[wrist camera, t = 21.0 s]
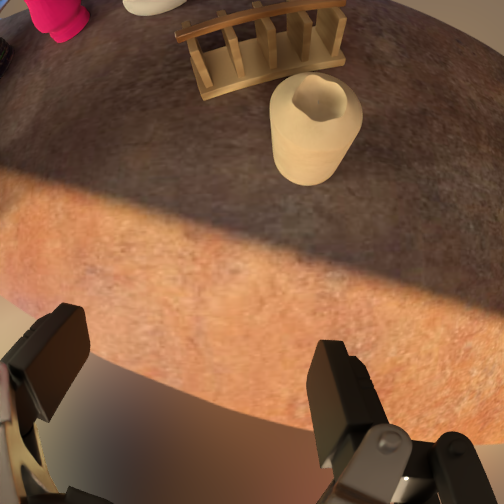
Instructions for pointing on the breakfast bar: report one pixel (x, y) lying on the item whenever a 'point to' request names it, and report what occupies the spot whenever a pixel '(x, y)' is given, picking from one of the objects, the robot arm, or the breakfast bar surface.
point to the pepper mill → (58, 17)
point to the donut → (151, 6)
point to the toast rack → (266, 45)
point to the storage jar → (5, 55)
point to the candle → (312, 126)
